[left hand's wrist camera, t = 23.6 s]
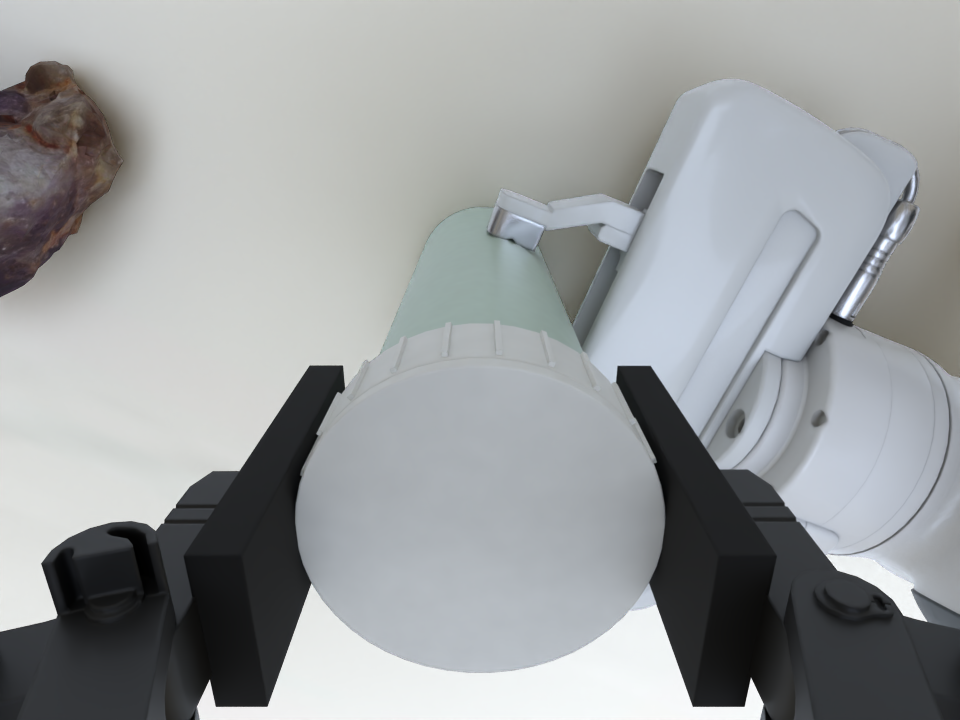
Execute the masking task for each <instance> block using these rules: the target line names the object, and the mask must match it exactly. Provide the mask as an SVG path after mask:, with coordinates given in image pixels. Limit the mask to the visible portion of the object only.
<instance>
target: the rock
mask: <svg viewBox="0 0 960 720" xmlns="http://www.w3.org/2000/svg"><path fill="white" fill-rule="evenodd" d="M122 162H123V159H122V158H121V157H120V155H119V154H118V152H117V150H116V148H115V146H114V144H113V142H112V139H111V135H110V131H109V128H108V125H107V123H106V120H105V118H104V115H103V114H102V112H101V111H100V110H99V108H98V107H97V105H96V104H95V103H94V101H93V100H92V99H91V98H89V97H88V96H87V95H86V94H85V93H84V92H83V91H82V90H81V89H80V88H79V87H78V86H77V84H76V82H75V80H74V77H73V70H72V69H71V68H70V67H69V66H67V65H62V64H60V63H58V62H56V61H47V62H39V63H37V64H35V65H33V66H31V67H30V68H29V70H28V72H27V73H26V78H25V81H24V82H21V83H19V84H17V85H14V86H12V87H9V88H7V89H4V90H2V91H0V297H2V296H3V295H5V294H8V293H10V292H12V291H14V290H16V289H18V288H19V287H21V286H23V285H25V284H26V283H27V282H28V281H29V280H31V279H32V278H33V277H34V275H35V273H36V271H37V269H38V268H39V267H40V266H42V265H43V264H44V263H45V262H46V261H47V260H48V259H49V258H50V257H51V256H52V255H53V254H54V253H55V252H56V251H58V250H59V249H60V248H61V246H62V245H63V243H64V242H65V240H66V239H67V237H68V236H69V235H71V234H75V233H77V232H78V229H79V227H80V224H81V220H82V215H83V212H84V211H85V210H86V209H87V208H88V207H89V206H90V204H92V203H93V202H95V201H96V200H97V199H99V198H100V197H101V196H103V195H104V194H105V193H107V192H108V191H109V189H110V186H111V184H112V182H113V179H114V177H115V175H116V173H117V171H118V169H119V168H120V166H121V164H122Z"/></svg>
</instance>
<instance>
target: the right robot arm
mask: <svg viewBox="0 0 960 720" xmlns="http://www.w3.org/2000/svg"><path fill="white" fill-rule="evenodd" d="M918 188H919V172H918V167H917V160H916V159H915V157H914V156H913V155H912V154H911V153H910V152H909V151H908V150H907V149H905V148H904V147H903V146H902V145H900V144H897V143H895V142H893V141H891V140H889V139H886V138H884V137H882V136H880V135H878V134H875V133H873V132H871V131H869V130H866V129H861V128H845V129H840V130H837V131H835V130H833V129H832V128H830V127H829V126H827V125H826V124H824V123H823V122H821V121H820V120H819V119H817V118H816V117H814V116H812V115H811V114H809V113H808V112H806V111H805V110H803V109H801V108H800V107H798V106H796V105H794V104H793V103H791V102H789V101H788V100H786V99H784V98H782V97H780V96H778V95H777V94H775V93H773V92H771V91H769V90H767V89H765V88H763V87H761V86H759V85H757V84H754V83H752V82H749V81H746V80H741V79H721V80H716V81H712V82H709V83H706V84H704V85H701V86H699V87H696V88H694V89H691V90H689V91H687V92H685V93H683V94H682V95H681V96H680V97H679V98H678V100H677V102H676V104H675V106H674V108H673V110H672V112H671V114H670V116H669V118H668V120H667V123H666V125H665V127H664V129H663V131H662V133H661V135H660V138H659V140H658V142H657V144H656V146H655V148H654V150H653V153H652V155H651V157H650V159H649V161H648V163H647V165H646V168H645V170H644V172H643V174H642V176H641V178H640V180H639V183H638V185H637V187H636V189H635V191H634V193H633V195H632V198H631V200H630V202H629V204H627V203H624V202H622V201H619V200H617V199H614V198H612V197H609V196H607V195H605V194H602V193H599V194H593V195H587V196H581V197H575V198H569V199H563V200H557V201H551V202H548V204H547V205H545V204H543V203H540V202H538V201H535V200H533V199H531V198H528V197H526V196H523V195H521V194H518V193H516V192H513V191H510V190H507V189H503V188H501V190H500V193H499V196H498V198H497V201H496V203H495V206H494V208H493V211H492V214H491V217H490V219H489V222H488V225H487V232H488V233H489V234H491V235H493V236H495V237H497V238H501V239H504V240H509V239H513V240H514V241H515V243H516V244H517V245H520V246H521V247H523V248H525V249H528V250H531V251H533V252H535V250H536V248H537V245H538V243H539V241H540V239H541V236H542V234H543V232H544V230H545V231H549V230H556V229H563V228H570V227H577V226H585V225H588V229H589V231H590V232H591V233H592V234H593V235H594V236H595V237H596V238H597V239H598V240H599V241H600V242H603V243H605V244H607V245H609V247H608V249H607V251H606V253H605V256H604V258H603V260H602V262H601V264H600V266H599V268H598V271H597V273H596V275H595V277H594V279H593V281H592V283H591V286H590V288H589V290H588V292H587V294H586V296H585V298H584V301H583V303H582V305H581V307H580V309H579V311H578V313H577V316H576V318H575V320H574V322H573V324H572V327H573V329H574V331H575V334H576V336H577V339H578V341H579V343H580V346H581V348H582V350H583V352H585V353H586V354H587V355H588V358H589V360H590V362H591V363H592V364H593V365H594V366H595V367H596V368H597V369H598V370H599V371H600V372H601V373H602V374H603V375H604V376H605V377H606V378H607V379H608V380H609V382H610V383H611V384H612V383H613V382H616V376H617V366H651V367H652V368H653V370H654V371H655V373H656V374H657V376H658V377H659V379H660V380H661V382H662V383H663V385H664V386H665V388H666V390H667V391H668V393H669V394H670V396H671V397H672V399H673V400H674V402H675V403H676V405H677V406H678V408H679V409H680V411H681V412H682V414H683V415H684V417H685V418H686V420H687V421H688V423H689V424H690V426H691V427H692V429H693V430H694V432H695V433H696V435H697V436H698V438H699V439H700V441H701V442H702V444H703V445H704V447H705V448H706V450H707V451H708V453H709V454H710V456H711V457H712V459H713V460H714V462H715V463H716V465H717V466H718V468H719V469H748V470H749V471H751V472H752V473H754V474H755V475H757V476H758V477H760V478H761V479H763V480H764V481H766V482H767V483H769V484H770V485H771V486H772V487H773V488H774V490H775V491H776V492H777V493H778V495H779V496H780V497H781V499H782V500H783V501H784V502H785V506H788V508H789V509H790V510H791V512H792V513H793V514H794V515H795V517H796V520H797V522H800V523H801V524H802V526H803V527H804V528H805V530H806V531H807V532H808V533H809V535H810V536H811V537H812V539H813V540H814V541H815V543H816V544H817V545H818V546H819V548H820V549H821V550H822V552H823V553H824V554H825V555H827V554H831V555H838V556H854V557H864V558H869V559H872V560H875V561H876V562H877V563H879V564H880V565H881V566H882V567H884V568H885V569H887V570H888V571H890V572H891V573H893V574H894V575H896V576H898V577H900V578H902V579H904V580H907V581H909V582H911V583H913V584H914V588H913V589H911V591H912V594H913V596H914V598H915V600H916V603H917V605H918V607H919V608H920V610H921V612H922V614H923V615H924V617H925V618H926V620H927V621H928V622H930V623H934V624H938V625H943V626H947V627H952V628H956V629H960V377H954V376H951V375H949V374H948V373H947V372H946V371H945V370H944V369H943V368H942V367H941V366H939V365H938V364H937V363H936V362H934V361H933V360H932V359H930V358H929V357H927V356H926V355H924V354H922V353H920V352H918V351H916V350H914V349H911V348H909V347H907V346H904V345H902V344H899V343H897V342H894V341H892V340H889V339H887V338H884V337H882V336H879V335H877V334H874V333H872V332H869V331H867V330H864V329H862V328H859V327H857V326H855V325H853V324H852V322H853V320H854V319H855V317H856V316H857V314H858V313H859V311H860V309H861V308H862V306H863V305H864V303H865V302H866V300H867V298H868V297H869V295H870V294H871V292H872V291H873V289H874V287H875V285H876V284H877V282H878V280H879V278H878V277H879V276H881V274H882V269H884V267H885V266H886V262H888V260H889V258H890V255H892V254H893V252H894V251H895V249H896V247H897V246H898V244H901V243H902V242H903V241H904V240H905V239H906V237H907V236H908V234H909V233H910V231H911V229H912V228H913V226H914V224H915V222H916V220H917V217H918V215H919V212H920V208H919V207H918V206H916V205H914V204H913V203H914V201H915V199H916V196H917V193H918ZM903 191H904V192H903ZM902 192H903V195H902V198H901V200H900V199H899V197H900V195H901V194H902ZM655 604H656V601H655V599H654V596H653V593H652V590H651V587H650V585H649V584H648V585H647V587H646V588H645V590H644V591H643V593H642V594H641V596H640V598H639V599H638V601H637V602H636V603H635V604H634V605H633V606H632V608H631V609H630V610H629V611H634V610H640V609H645V608H648V607H651V606H653V605H655Z"/></svg>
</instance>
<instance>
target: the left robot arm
mask: <svg viewBox="0 0 960 720" xmlns="http://www.w3.org/2000/svg"><path fill="white" fill-rule="evenodd" d="M616 383H617V385H618V387H619V389H620V391H621V393H622V395H623V397H624V399H625V401H626V403H627V405H628V407H629V409H630V411H631V413H632V415H633V417H634V418H636V420H637V422H638V424H639V426H640V428H641V430H642V432H643V434H644V436H645V438H646V440H647V442H648V444H649V446H650V448H651V450H652V452H653V454H654V456H655V458H656V461H657V463H654V466H655V468H656V471H657V474H658V477H659V480H660V483H661V486H662V491H663V497H664V502H665V529H664V537H663V544H662V550H661V554H660V557H659V560H658V564H657V567H656V569H655V571H654V573H653V575H652V577H651V579H650V581H649V585H650V587H651V590H652V593H653V596H654V599H655V601H656V604H657V607H658V610H659V613H660V615H661V618H662V621H663V624H664V627H665V630H666V632H667V635H668V638H669V641H670V644H671V646H672V649H673V652H674V655H675V658H676V660H677V663H678V666H679V669H680V672H681V674H682V677H683V680H684V683H685V686H686V689H687V691H688V694H689V697H690V700H691V703H692V705H693V707H745V702H746V697H747V693H748V688H749V684H750V679H751V678H752V680H753V682H754V684H755V686H756V688H757V691H758V693H759V695H760V697H761V699H762V701H763V703H764V706H763V710H762V714H761V719H760V720H960V629H956V628H952V627H947V626H943V625H938V624H934V623H930V622H925V621H921V620H916V619H913V618H909V617H906V616H903V615H902V613H901V611H900V610H899V609H898V607H897V606H896V604H895V603H894V601H893V600H892V599H891V598H890V597H888V596H887V595H886V594H885V593H884V592H882V591H881V590H880V589H879V588H877V587H876V586H874V585H872V584H870V583H868V582H866V581H864V580H862V579H861V578H859V577H856V576H853V575H850V574H846V573H843V572H840V571H837V570H836V568H835V567H834V566H833V564H832V563H831V562H830V561H829V559H828V558H827V557H826V555H825V554H824V553H823V552H822V550H821V549H820V548H819V546H818V545H817V544H816V543H815V541H814V540H813V539H812V537H811V536H810V535H809V533H808V532H807V531H806V530H805V528H804V527H803V526H802V524H801V523H800V522H797V520H796V517H795V515H794V514H793V513H792V512H791V510H790V509H789V508H788V506H785V502H784V501H783V500H782V499H781V497H780V496H779V495H778V493H777V492H776V491H775V490H774V488H773V487H772V486H771V485H770V484H769V483H767V482H766V481H764V480H763V479H761V478H760V477H758V476H757V475H755V474H754V473H752V472H751V471H749V470H748V469H719V468H718V466H717V465H716V463H715V462H714V460H713V459H712V457H711V456H710V454H709V453H708V451H707V450H706V448H705V447H704V445H703V444H702V442H701V441H700V439H699V438H698V436H697V435H696V433H695V432H694V430H693V429H692V427H691V426H690V424H689V423H688V421H687V420H686V418H685V417H684V415H683V414H682V412H681V411H680V409H679V408H678V406H677V405H676V403H675V402H674V400H673V399H672V397H671V396H670V394H669V393H668V391H667V390H666V388H665V386H664V385H663V383H662V382H661V380H660V379H659V377H658V376H657V374H656V373H655V371H654V370H653V368H652V367H651V366H617V376H616ZM344 390H345V383H344V372H343V366H309V368H308V369H307V371H306V372H305V374H304V375H303V377H302V378H301V380H300V381H299V383H298V384H297V386H296V387H295V389H294V390H293V392H292V393H291V395H290V396H289V398H288V399H287V401H286V402H285V404H284V405H283V407H282V408H281V410H280V411H279V413H278V414H277V416H276V417H275V419H274V420H273V422H272V423H271V425H270V426H269V428H268V429H267V431H266V432H265V434H264V435H263V437H262V438H261V440H260V441H259V443H258V444H257V446H256V447H255V449H254V450H253V452H252V453H251V455H250V456H249V458H248V459H247V461H246V462H245V464H244V465H243V467H242V468H241V470H240V471H213V472H211V473H210V474H208V475H207V476H205V477H204V478H202V479H201V480H199V481H198V482H196V483H195V484H193V485H192V486H190V487H189V489H188V490H187V491H186V493H185V494H184V495H183V497H182V498H181V499H180V500H179V502H178V503H177V504H176V508H173V510H172V511H171V512H170V513H169V515H168V516H167V517H166V519H165V522H164V524H161V525H160V526H159V528H158V529H157V530H156V531H155V530H154V529H152V528H151V527H150V526H148V525H147V524H143V523H138V522H133V521H127V522H113V523H108V524H104V525H101V526H97V527H93V528H89V529H87V530H85V531H83V532H81V533H78V534H76V535H74V536H72V537H70V538H68V539H67V540H65V541H64V542H62V543H61V544H60V545H58V546H57V547H55V548H54V549H53V550H51V552H50V553H49V554H48V556H47V557H46V558H45V559H44V561H43V562H42V563H41V564H42V567H43V571H44V574H45V577H46V580H47V583H48V586H49V589H50V592H51V595H52V599H53V602H54V605H55V608H56V611H57V614H58V616H57V618H56V619H53V620H50V621H46V622H42V623H38V624H33V625H29V626H25V627H20V628H16V629H11V630H7V631H2V632H0V720H200V719H199V714H198V710H197V705H198V703H199V701H200V699H201V697H202V695H203V692H204V690H205V688H206V686H207V684H208V682H209V680H210V682H211V686H212V691H213V696H214V700H215V705H216V707H267V706H268V704H269V701H270V698H271V695H272V692H273V690H274V687H275V684H276V681H277V678H278V676H279V673H280V670H281V667H282V664H283V662H284V659H285V656H286V653H287V650H288V647H289V645H290V642H291V639H292V636H293V633H294V631H295V628H296V625H297V622H298V619H299V617H300V614H301V611H302V608H303V605H304V602H305V600H306V597H307V594H308V591H309V588H310V586H311V581H310V579H309V576H308V574H307V572H306V570H305V568H304V565H303V563H302V559H301V556H300V552H299V548H298V540H297V533H296V525H295V503H296V498H297V493H298V488H299V483H300V480H301V478H302V476H300V473H301V470H302V468H303V466H304V464H305V462H306V460H307V458H308V456H309V454H310V452H311V450H312V448H313V445H314V443H315V441H316V439H317V437H318V435H317V434H316V433H317V431H318V429H319V427H320V426H321V424H322V422H323V420H324V418H325V416H326V414H327V412H328V410H329V408H330V406H331V404H332V402H333V400H334V398H335V396H336V394H337V393H338V392H339V393H341V394H342V393H343V391H344Z"/></svg>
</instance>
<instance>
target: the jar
mask: <svg viewBox="0 0 960 720" xmlns="http://www.w3.org/2000/svg"><path fill="white" fill-rule="evenodd" d="M492 211H493V208H489V207H475V208H468V209H464V210H461V211H459V212H456V213H454V214H452V215H451V216H449V217H447V218H446V219H445V220H443V221H442V222H441V223H440V224H439V225H438V226H437V227H436V228H435V229H434V231H433V232H432V233H431V235H430V236H429V238H428V240H427V242H426V244H425V247H424V249H423V252H422V254H421V256H420V259H419V261H418V264H417V266H416V268H415V271H414V273H413V276H412V278H411V280H410V283H409V285H408V288H407V290H406V292H405V295H404V297H403V300H402V302H401V304H400V307H399V309H398V312H397V314H396V316H395V319H394V321H393V324H392V326H391V328H390V331H389V333H388V336H387V338H386V340H385V343H384V345H383V348H382V350H381V352H380V354H381V353H383V352H384V351H385V350H387V349H389V348H391V347H392V346H394V345H396V344H398V343H399V340H400V338H401V337H403V336H406V337H407V339H408V338H410V337H413V336H415V335H418V334H421V333H423V332H426V331H430V330H434V329H438V328H442V327H445V324H446V323H448V322H451V323H452V326H453V325H461V324H469V323H482V324H494V320H498V321H500V325H507V326H515V327H519V328H523V329H526V330H530V331H534V332H538V333H540V332H541V330H543V331H545V332H547V335H548V337H550V338H552V339H555V340H557V341H559V342H561V343H563V344H564V345H566V346H568V347H570V348H571V349H573V350H575V351H577V352H578V353H579V354H581V353H582V352H583V350H582V348H581V346H580V343H579V341H578V339H577V336H576V334H575V331H574V329H573V327H572V324H571V322H570V320H569V317H568V315H567V313H566V310H565V308H564V305H563V303H562V301H561V298H560V296H559V294H558V291H557V289H556V286H555V284H554V282H553V279H552V277H551V275H550V272H549V270H548V267H547V265H546V263H545V260H544V258H543V256H542V253H541V251H540V249H539V246H538V245H537V248H536V250H535V252H533V251H531V250H528V249H525V248H523V247H521V246H520V245H517V244H516V243H515V241H514V240H513V239H509V240H504V239H501V238H497V237H495V236H493V235H491V234H489V233H488V232H487V225H488V222H489V219H490V217H491V214H492Z"/></svg>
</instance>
